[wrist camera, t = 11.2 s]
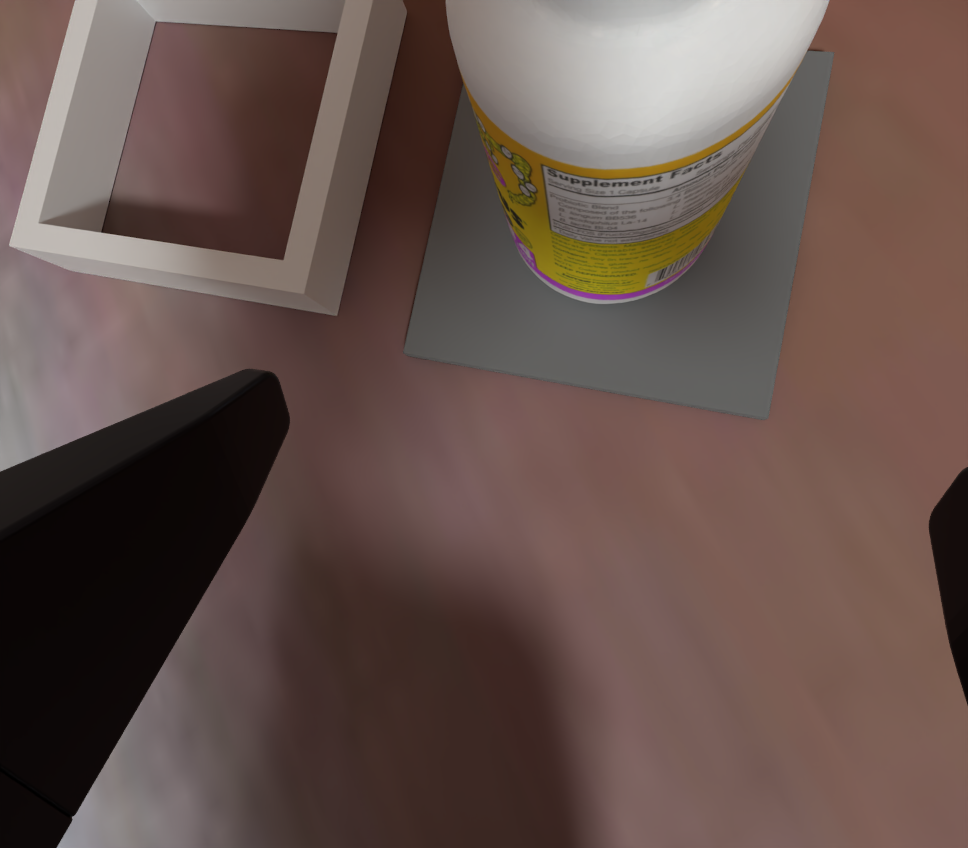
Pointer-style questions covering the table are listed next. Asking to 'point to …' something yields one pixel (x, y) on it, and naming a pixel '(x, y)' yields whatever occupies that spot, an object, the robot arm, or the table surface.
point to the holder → (105, 120)
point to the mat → (635, 324)
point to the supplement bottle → (623, 124)
